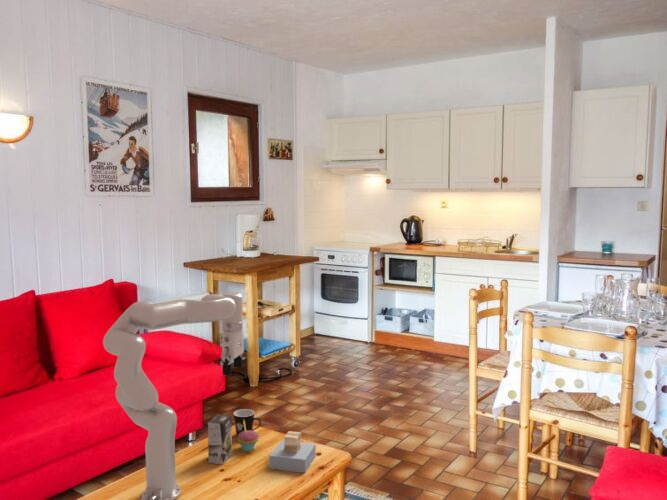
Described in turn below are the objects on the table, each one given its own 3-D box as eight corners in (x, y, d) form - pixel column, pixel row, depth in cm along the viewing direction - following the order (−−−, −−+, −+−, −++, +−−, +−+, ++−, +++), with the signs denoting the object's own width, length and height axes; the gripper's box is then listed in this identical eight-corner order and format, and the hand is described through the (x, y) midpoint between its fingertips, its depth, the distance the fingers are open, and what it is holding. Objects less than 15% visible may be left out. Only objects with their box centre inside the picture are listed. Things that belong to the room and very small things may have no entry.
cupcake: (233, 451, 233) (233, 422, 232) (243, 442, 241) (242, 414, 240) (253, 454, 230) (253, 424, 229) (262, 445, 238) (262, 416, 237)
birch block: (297, 453, 220) (297, 437, 220) (284, 451, 222) (284, 436, 221) (301, 447, 225) (301, 432, 225) (288, 446, 226) (288, 431, 226)
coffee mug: (230, 435, 248) (229, 412, 247) (247, 429, 254) (246, 407, 253) (245, 444, 239) (244, 420, 238) (262, 438, 245) (262, 415, 244)
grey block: (305, 472, 216) (305, 459, 215) (269, 468, 219) (269, 455, 218) (315, 456, 229) (315, 443, 229) (281, 452, 232) (281, 440, 232)
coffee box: (224, 464, 222) (223, 423, 220) (208, 463, 223) (207, 422, 221) (232, 454, 231) (232, 414, 229) (217, 452, 232) (216, 413, 230)
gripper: (232, 331, 209) (232, 378, 210) (250, 321, 225) (250, 365, 227) (212, 330, 210) (213, 377, 212) (232, 320, 227) (232, 363, 229)
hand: (232, 370), depth 219 cm, fingers open, 9 cm apart
